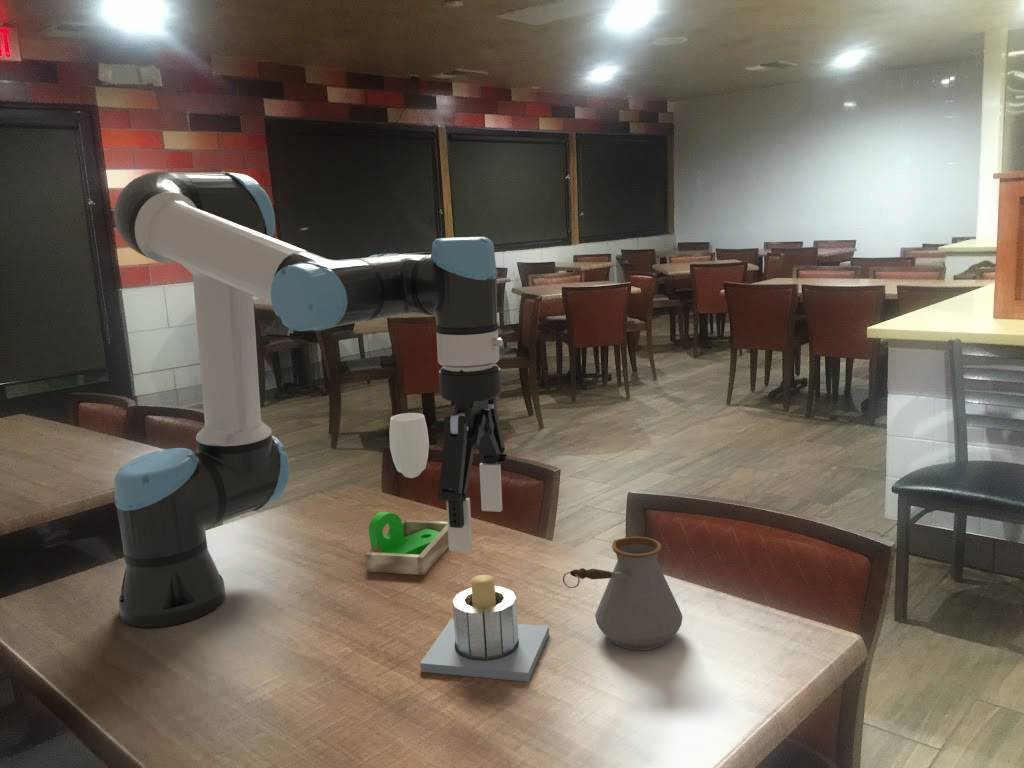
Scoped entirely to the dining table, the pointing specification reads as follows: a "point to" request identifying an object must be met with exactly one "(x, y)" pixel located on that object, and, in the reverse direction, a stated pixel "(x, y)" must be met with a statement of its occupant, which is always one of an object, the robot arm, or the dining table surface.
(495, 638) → the ring
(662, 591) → the coffee pot
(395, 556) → the parts corral
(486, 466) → the robot arm
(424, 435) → the white rounded tapered piece
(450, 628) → the square base plate
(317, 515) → the dining table surface
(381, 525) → the mechanical part
